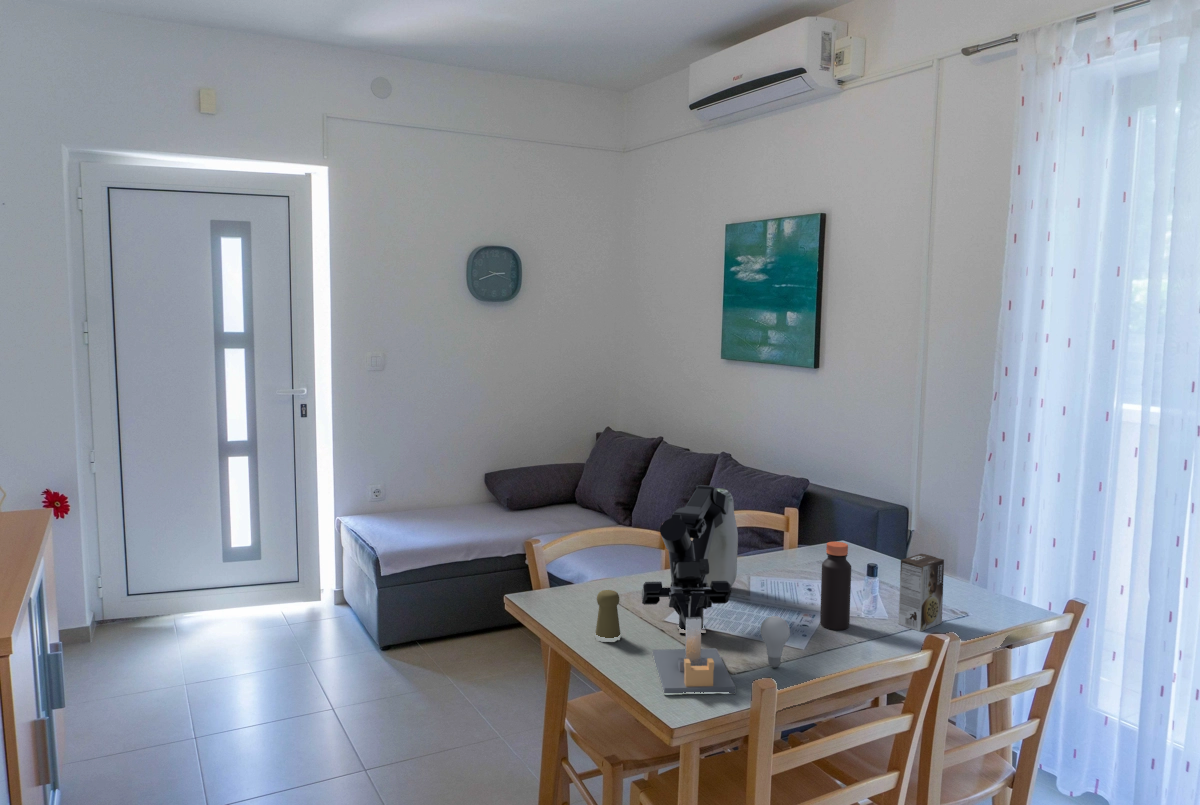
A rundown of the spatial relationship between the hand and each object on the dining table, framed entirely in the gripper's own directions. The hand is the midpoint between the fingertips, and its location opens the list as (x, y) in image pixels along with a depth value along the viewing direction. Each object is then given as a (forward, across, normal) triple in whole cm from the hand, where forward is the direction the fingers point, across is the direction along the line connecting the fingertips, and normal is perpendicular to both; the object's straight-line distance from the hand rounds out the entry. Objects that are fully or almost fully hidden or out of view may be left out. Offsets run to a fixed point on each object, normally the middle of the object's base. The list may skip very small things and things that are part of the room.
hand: (690, 630), depth 172 cm
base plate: (+8, 0, +5) cm, 9 cm away
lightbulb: (+6, +18, +6) cm, 20 cm away
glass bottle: (-30, +16, +42) cm, 54 cm away
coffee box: (-11, +60, +23) cm, 65 cm away
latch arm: (+3, 0, -2) cm, 4 cm away
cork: (-7, -16, +19) cm, 26 cm away
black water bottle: (-10, +39, +23) cm, 46 cm away
